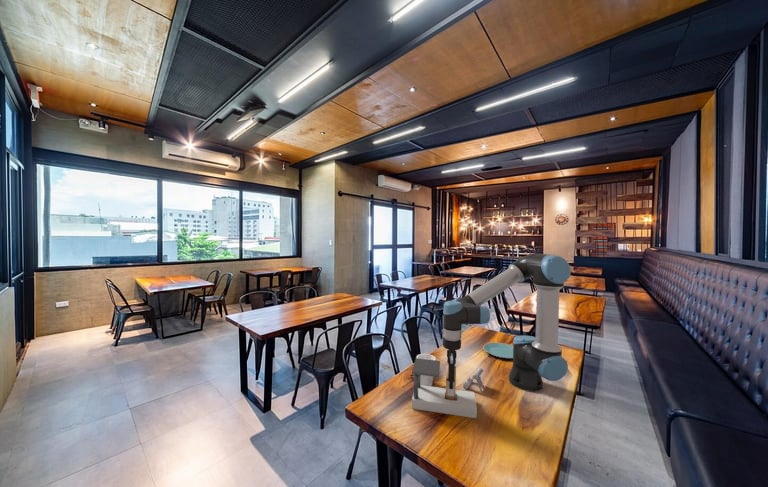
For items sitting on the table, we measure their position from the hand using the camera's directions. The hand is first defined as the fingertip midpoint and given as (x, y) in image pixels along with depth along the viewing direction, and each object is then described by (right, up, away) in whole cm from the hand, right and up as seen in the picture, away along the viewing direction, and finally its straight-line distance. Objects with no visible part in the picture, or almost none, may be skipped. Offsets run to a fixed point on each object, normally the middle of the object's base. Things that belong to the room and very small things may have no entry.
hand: (450, 392), depth 119 cm
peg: (0, -3, 0) cm, 3 cm away
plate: (+45, -5, +54) cm, 71 cm away
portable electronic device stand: (+15, -6, +15) cm, 22 cm away
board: (-3, -6, +1) cm, 7 cm away
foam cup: (-8, -6, +18) cm, 20 cm away
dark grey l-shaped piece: (-10, -2, +2) cm, 11 cm away
